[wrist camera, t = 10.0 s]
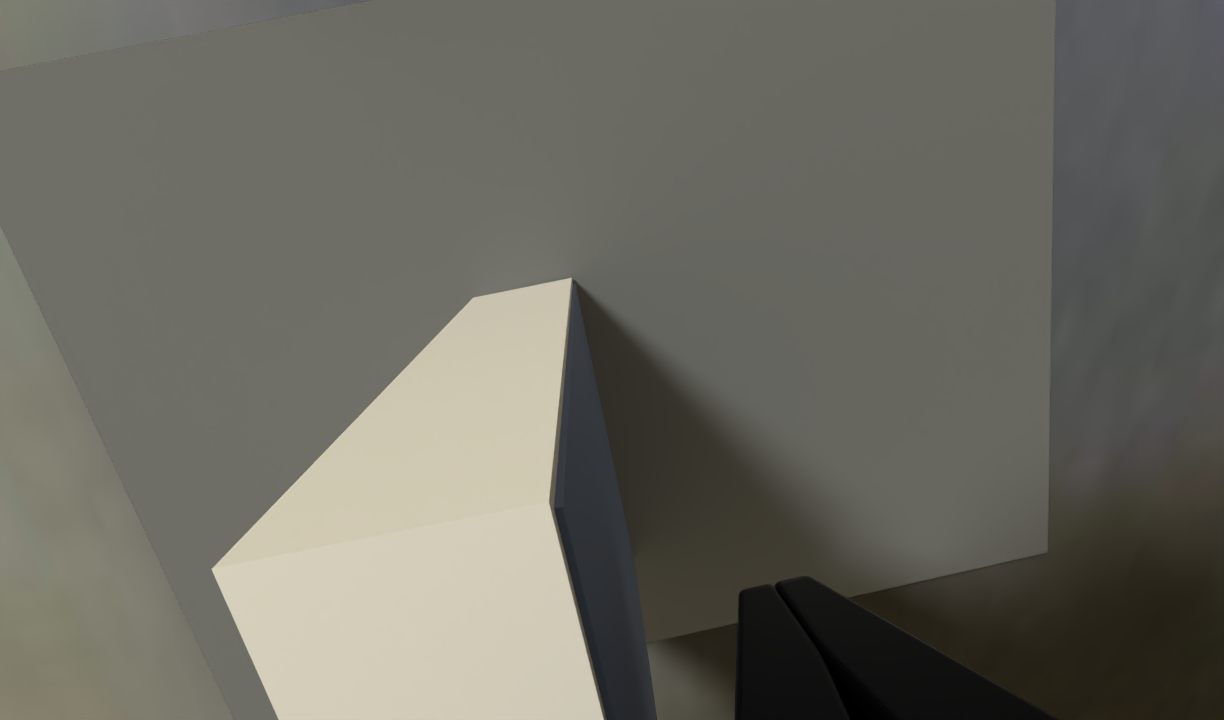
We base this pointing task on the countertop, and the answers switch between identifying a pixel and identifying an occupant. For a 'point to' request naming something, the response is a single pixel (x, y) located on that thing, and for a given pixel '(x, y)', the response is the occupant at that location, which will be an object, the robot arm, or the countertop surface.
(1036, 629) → the countertop surface
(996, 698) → the robot arm
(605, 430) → the card box
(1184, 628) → the countertop surface
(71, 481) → the countertop surface
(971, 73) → the mat
